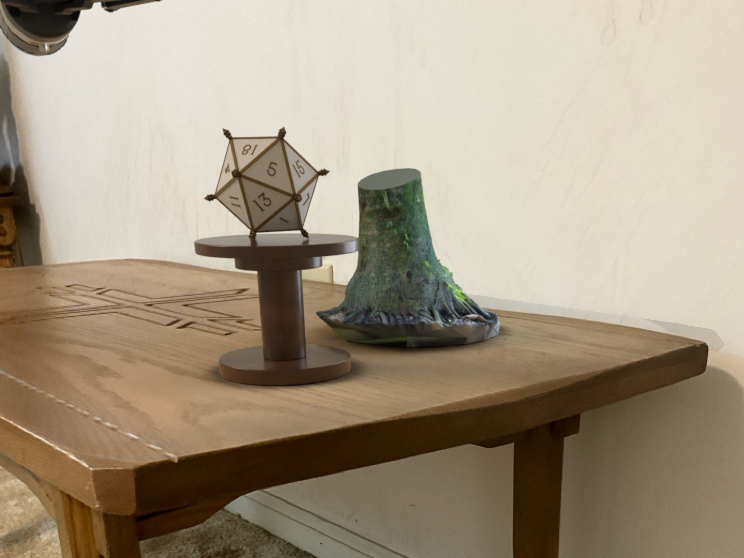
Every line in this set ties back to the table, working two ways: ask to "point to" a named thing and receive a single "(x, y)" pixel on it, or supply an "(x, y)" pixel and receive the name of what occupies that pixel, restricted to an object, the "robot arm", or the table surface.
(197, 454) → the table surface
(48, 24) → the robot arm
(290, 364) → the pedestal stand
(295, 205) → the game die
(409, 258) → the tree stump
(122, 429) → the table surface
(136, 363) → the table surface
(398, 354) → the table surface
